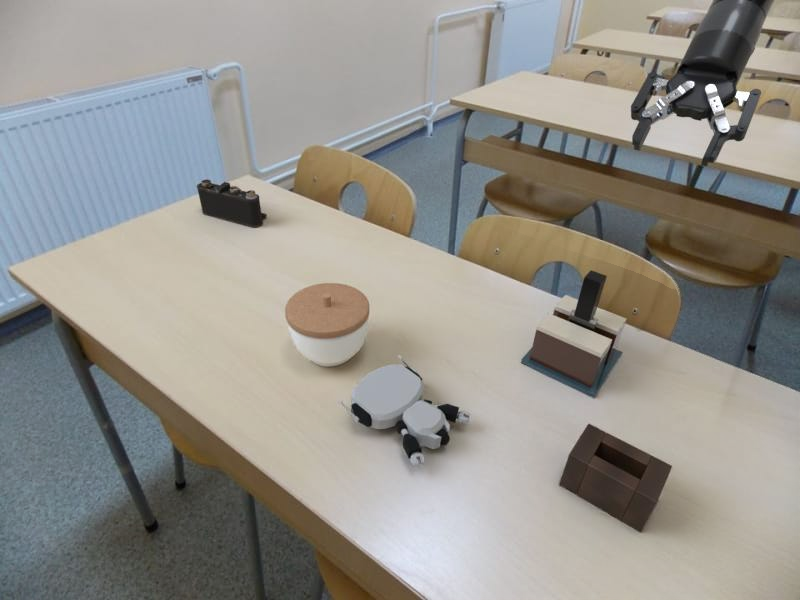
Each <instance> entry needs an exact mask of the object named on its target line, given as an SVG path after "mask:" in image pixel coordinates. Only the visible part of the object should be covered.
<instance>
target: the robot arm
mask: <svg viewBox="0 0 800 600" xmlns="http://www.w3.org/2000/svg"><path fill="white" fill-rule="evenodd" d="M774 2H775V0H712V1H711V4H710V5H709V8H708V10H707V12H706V13H705V15H704V17H703V18H702V20H701V21H700V23H699V25H698V26H697V28H696V30H695V32H694V35H693V37H692V39H691V41H690V43H689V45H688V47H687V49H686V51H685V54H684V55H683V58H682V60H681V62H680V64H679V66H678V68H677V70H676V73H675V74H674V75H673V76H672V77H670V78H669V79H667V78H661V77H658V73H657V72H654V71H653V72H650V73H649V74H647V76H646V78H645V80H644V82H643V83H642V85H641V86H640V89H639V90H638V93H637V94H636V96H635V98H634V100H633V102H632V103H631V104H630V119H631V120H633V121H637V122H638V123H637V125H636V127H635V129H634V131H633V133H632V136H631V141H632V145H633V150H634V151H638V152H639V151H641V149H642V148H643V145H644V143H645V141H646V139H647V137H648V135H649V133H650V131H651V127H652V125H653V124H655V123H658V122H659V121H660V120H661V121H663V120H665V119H667V118H669V117H670V116H672V115H674V114H675V116H676V117H679V118H690V119H692V120H694V121H699V122H700V121H701V122H702V120H707V122H708V125H709V127H710V129H711V131H712V133H713V135H712V137H711V140H710V141H709V144H708V146H707V148H706V150H705V152H704V154H703V155H702V156H703V157H702V159H701V163H700V166H703V167H708V165H709V163H710V164H714V163H715V162H716V161H717V159H718V158H719V155H720V153H721V151H722V149H723V147H724V144H726V142H728V141H736V142H742V141H743V140H744V139H745V137H746V136H747V135H746V134H747V132H748V130H749V127H750V125H751V122H752V120H753V116H754V114H755V112H756V109H757V107H758V103H759V101H760V98H761V95H762V91H761V89H759V88H753V89H752V90H750V91H749V92H747V91H741V90H738V89H737V85H738V84H739V81H740V79H741V77H742V75H743V73H744V71H745V69H746V66H747V64H748V63H749V60H750V58H751V57H752V55H753V54H754V53H755V52H754V51H755V50H756V45H757V44H758V41H759V38H760V37H761V33H762V30H763V26H764V24H765V22H766V19H767V17H768V15H769V13H770V11H771V9H772V6H773V4H774ZM661 91H665V95H663V96H661V98H659V99H658V100H657V101H656V103H654V104H652V105H651V106H649V107H648V108H647V106H648V104H649V102H650V101H651V99H652V97H655V96H657V95H658V94H659V93H660V92H661ZM733 103H736V104H737V110H739V111H740V112H742V113H741V114H740V117H739V119H738V122H737V124H734V125H730V124H729V121H728V119H727V116H726V110H725V108H727V107H729V106H731V105H732V104H733Z"/></svg>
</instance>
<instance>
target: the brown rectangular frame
mask: <svg viewBox="0 0 800 600" xmlns="http://www.w3.org/2000/svg"><path fill="white" fill-rule="evenodd" d="M672 469H673V465H671V464H670V463H667V462H666V461H664V460H661V459H659V458H658V457H656V456H653V455H651V454H650V453H648V452H646V451H644V450H642V449H640V448H638V447H636V446H634V445H632V444H630V443H628V442H627V441H624V440H622V439H620V438H618V437H616V436H614V435H612V434H611V433H609V432H606V431H605V430H603V429H601V428H599V427H597V426H594V425H593V424H591V423H588V424H587V425H586V427H585V428H584V430H583V431H582V433H581V434H580V436H579V438H578V439H577V441H576V442H575V444H574V445H573V446H572V449H571V451H570V452H569V454H568V457H567V459H566V463H565V465H564V468H563V471H562V475H561V477H560V480H559V483H558V485H559V487H562V488H564V489H566V490H568V491H569V492H570V493H573V494H574V495H576V496H577V497H579V498H581V499H582V500H585V501H586V502H588V503H590V504H591V505H593V506H594V507H596V508H598V509H600V510H601V511H603V512H605V513H606V514H608V515H610V516H612V517H613V518H615V519H616V520H619V521H621V522H622V523H624V524H625V525H627V526H628V527H630V528H632V529H633V530H635V531H637V532H638V533H642V532H643V530H644V528H645V526H646V524H647V522H648V520H649V519H650V517H651V515H652V513H653V512H654V509H655V508H656V506H657V504H658V502H659V500H660V498H661V495H662V492H663V490H664V487H665V485H666V483H667V480H668V478H669V476H670V473H671V471H672Z"/></svg>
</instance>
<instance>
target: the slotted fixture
mask: <svg viewBox="0 0 800 600" xmlns="http://www.w3.org/2000/svg"><path fill="white" fill-rule="evenodd" d="M578 299H579V298H575V297H572V296H570V295H567V294H565V295H564V296H563V297H562V298H561V299H560V300H559V301H558V302H557V303H556V304H555V306H554V309H553V313H552V314H551V313H550V312H548V313H546V315H545V316H544V317H543V318H542V319H541V321H540V322H539V323H538V324H537V325H536V328H535V333H534V338H533V342H532V346H531V347H530V349H529V350H528V351H527V352H526V353H525V354H524V356H523V357H522V358H521V359H520V364H523V365H525V366H526V367H529V368H530V369H532V370H535V371H537V372H538V373H541V374H543V375H546V376H548V377H549V378H551V379H554V380H556V381H557V382H560V383H561V384H563V385H566V386H568V387H570V388H572V389H574V390H577V391H578V392H580V393H582V394H585V395H587V396H589V397H590V398H593V399H595V398H596V396H597V395H598V393H599V391H600V390H601V389H602V387H603V386H604V384H605V382H606V381H607V379H608V378H609V376H610V374H612V372H613V370H614V369H615V367H616V365H617V364H618V363H619V361H620V359H621V358H622V357H623V354H624V351H621V350H619V349H617V348H618V345H619V342H620V339H621V337H622V334H623V331H624V328H625V325H626V322H627V318H626V317H624V316H621V315H619V314H615V313H614V312H611V311H608V310H606V309H603V308H600V307H599V306H598V307H597V310H596V313H595V315H594V317H593V318H596V319H598V322H597V325H596V328H595V332H593V331H590V330H588V329H585V328H583V327H581V326H578V325H576V324H573V323H571V322H569V321H568V320H569V316H570V313H571V311H572V310H573V309H574V310H576V306H577V302H578Z"/></svg>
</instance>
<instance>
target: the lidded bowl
mask: <svg viewBox="0 0 800 600" xmlns="http://www.w3.org/2000/svg"><path fill="white" fill-rule="evenodd" d="M370 308H371V307H370V302H369V300H368V297H367V296H366V295H365V294H364V293H363V292H362V291H361V290H360V289H357V288H356V287H353V286H351V285H349V284H344V283H338V282H322V283H316V284H312V285H309V286H307V287H304V288H302V289H300V290H298V291H297V292H294V294H293V295H292V296H291V297H290V298H289V299H288V300H287V302H286V304H285V307H284V317H285V320H286V324H287V328H288V333H289V337H290V339H291V342H292V343H293V346H294V347H295V348H296V350H297V352H298V353H300V355H301V356H303V357H304V358H305V359H306V360H309V361H310V362H313V363H314V364H316V365H318V366H320V367H327V368H329V367H337V366H341V365H342V364H343V365H344V364H345V363H346V362H348V361H349V360H350V359H351V358H352V357H354V356H355V355H357V353H358V352H359V351H360V350H361V348H362V347H363V345H364V343H365V341H366V339H367V335H368V331H369V321H370V320H369V319H370Z"/></svg>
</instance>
